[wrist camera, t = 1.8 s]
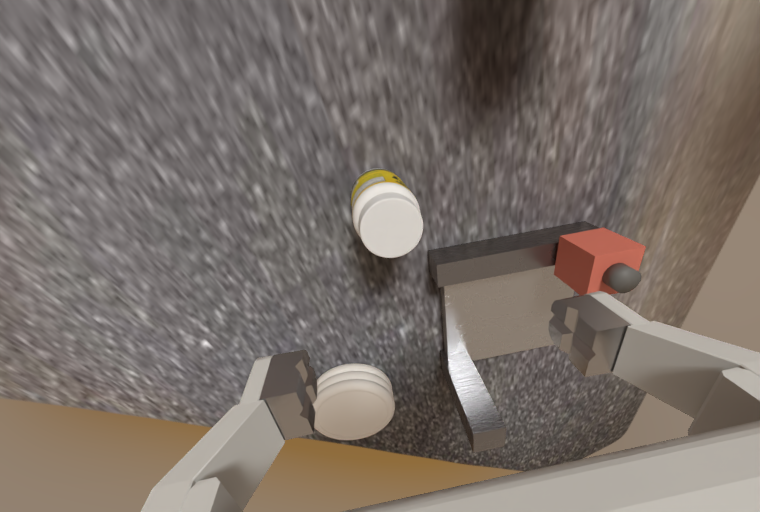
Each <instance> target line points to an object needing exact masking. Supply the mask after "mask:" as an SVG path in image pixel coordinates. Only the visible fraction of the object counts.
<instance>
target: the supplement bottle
mask: <svg viewBox="0 0 760 512" xmlns="http://www.w3.org/2000/svg"><path fill="white" fill-rule="evenodd" d="M351 207H352V219H353V224H354V227H355V230H356V232H357V233H358V235H359V236H360V237H361V239H362V242H363V243H364V245H365V246H366V248H367V249H368V250H369V251H371V252H372V253H373V254H375V255H377V256H380V257H385V258H395V257H399V256H402V255H405V254H407V253H408V252H410V251H411V250H412V249H413V248H414V247H415V246H416V245H417V244H418V242H419V240H420V238H421V236H422V232H423V220H422V217H421V214H420V208H419V204H418V202H417V200H416V198H415V196H414V195H413V194H412V193H411V191H410V190H409V189H408V188H407V187H406V186H405V184H404V183H403V182H402V181H401V180H400V179H399V178H398V176H396V175H395V174H394V173H393V172H391V171H389V170H386V169H379V168H378V169H371V170H368V171H366V172H364V173H363V174H361V175H360V176H359V177H358V178H357V180H356V181H355V183H354V185H353V187H352V191H351Z"/></svg>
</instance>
